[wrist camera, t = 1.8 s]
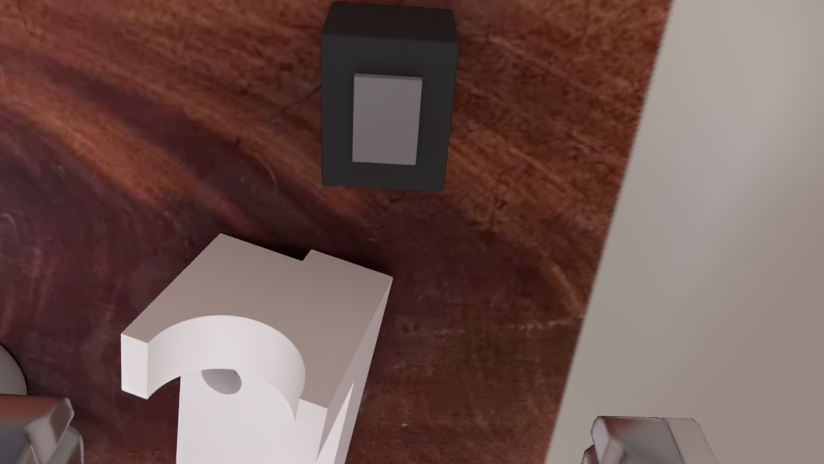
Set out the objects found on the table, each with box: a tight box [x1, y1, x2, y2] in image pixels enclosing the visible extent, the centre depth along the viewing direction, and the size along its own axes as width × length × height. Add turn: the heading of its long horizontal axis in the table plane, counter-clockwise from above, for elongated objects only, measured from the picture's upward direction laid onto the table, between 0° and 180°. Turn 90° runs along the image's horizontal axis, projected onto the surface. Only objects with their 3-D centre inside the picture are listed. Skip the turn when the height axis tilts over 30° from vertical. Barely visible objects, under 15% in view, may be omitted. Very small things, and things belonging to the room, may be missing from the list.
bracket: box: [121, 233, 393, 464], centre depth 28 cm, size 13×7×8 cm, turn 167°
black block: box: [321, 2, 459, 192], centre depth 22 cm, size 4×5×4 cm
